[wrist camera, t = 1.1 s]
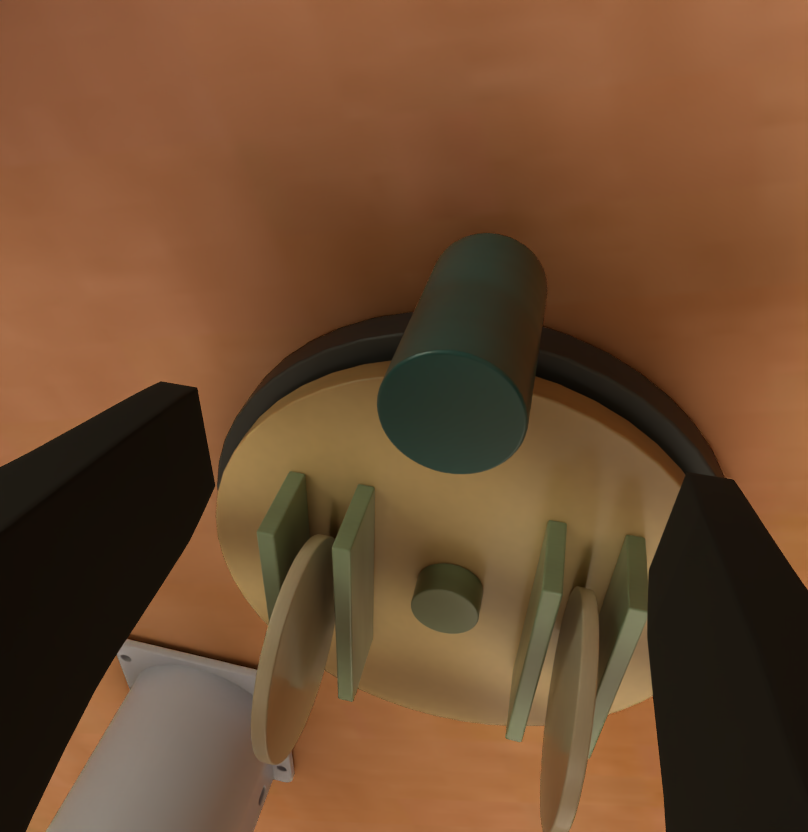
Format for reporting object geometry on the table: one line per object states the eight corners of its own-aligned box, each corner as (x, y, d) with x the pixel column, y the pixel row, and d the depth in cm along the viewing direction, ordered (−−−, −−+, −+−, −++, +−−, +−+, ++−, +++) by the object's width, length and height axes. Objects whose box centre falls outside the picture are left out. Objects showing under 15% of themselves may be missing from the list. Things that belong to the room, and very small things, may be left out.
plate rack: (644, 744, 25) (655, 976, 19) (251, 652, 27) (165, 837, 22) (876, 278, 13) (1051, 528, 8) (170, 191, 16) (-46, 341, 11)
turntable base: (652, 715, 26) (654, 745, 25) (255, 625, 29) (244, 649, 28) (826, 360, 16) (839, 389, 15) (199, 271, 19) (178, 291, 18)
